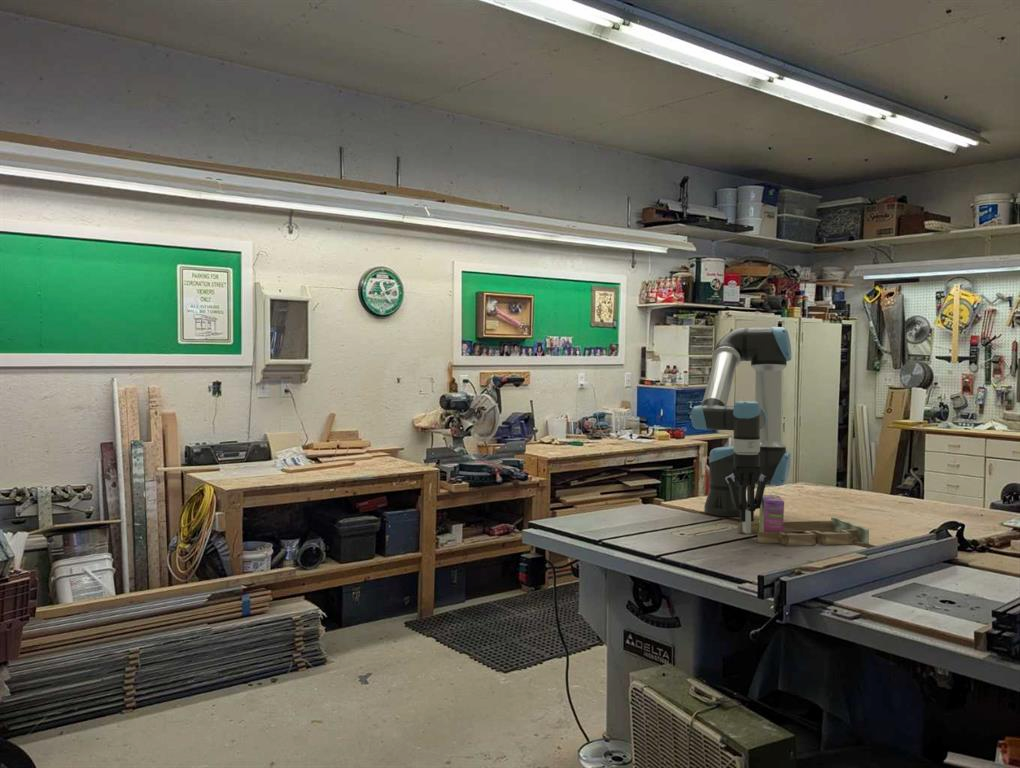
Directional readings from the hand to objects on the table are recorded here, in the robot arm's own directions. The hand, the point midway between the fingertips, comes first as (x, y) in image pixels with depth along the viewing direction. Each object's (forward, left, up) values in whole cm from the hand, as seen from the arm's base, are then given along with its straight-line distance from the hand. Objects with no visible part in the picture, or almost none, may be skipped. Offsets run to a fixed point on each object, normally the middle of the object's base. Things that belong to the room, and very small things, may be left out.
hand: (746, 532), depth 228 cm
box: (0, +8, -2) cm, 8 cm away
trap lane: (+2, +16, -2) cm, 16 cm away
